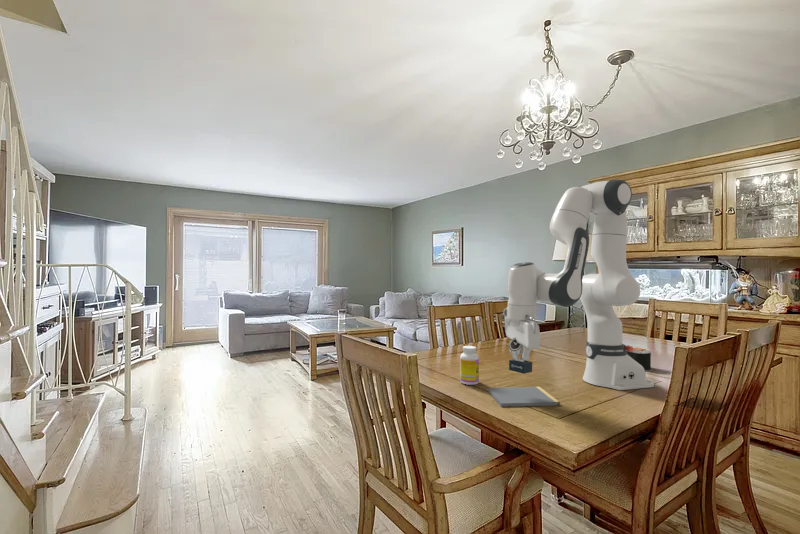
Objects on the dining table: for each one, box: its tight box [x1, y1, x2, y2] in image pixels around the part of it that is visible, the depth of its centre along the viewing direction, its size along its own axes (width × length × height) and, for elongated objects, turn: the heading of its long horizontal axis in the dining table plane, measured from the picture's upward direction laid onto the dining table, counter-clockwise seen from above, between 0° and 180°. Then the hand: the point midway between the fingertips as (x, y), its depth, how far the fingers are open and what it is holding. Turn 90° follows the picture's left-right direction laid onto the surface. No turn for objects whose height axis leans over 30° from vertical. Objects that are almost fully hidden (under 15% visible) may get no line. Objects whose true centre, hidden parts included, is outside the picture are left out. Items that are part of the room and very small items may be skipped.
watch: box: [508, 337, 533, 374], centre depth 119 cm, size 6×8×11 cm
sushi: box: [626, 346, 652, 371], centre depth 153 cm, size 8×8×8 cm
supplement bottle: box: [459, 345, 480, 386], centre depth 134 cm, size 7×7×13 cm
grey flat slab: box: [487, 386, 561, 408], centre depth 119 cm, size 18×14×1 cm
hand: (521, 356), depth 119 cm, fingers closed on watch, 5 cm apart
